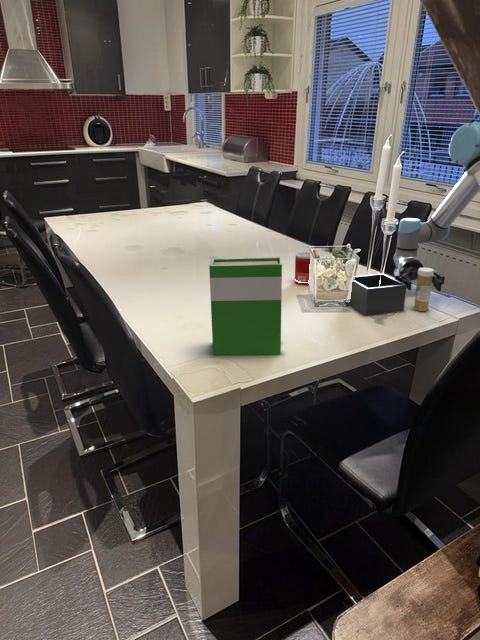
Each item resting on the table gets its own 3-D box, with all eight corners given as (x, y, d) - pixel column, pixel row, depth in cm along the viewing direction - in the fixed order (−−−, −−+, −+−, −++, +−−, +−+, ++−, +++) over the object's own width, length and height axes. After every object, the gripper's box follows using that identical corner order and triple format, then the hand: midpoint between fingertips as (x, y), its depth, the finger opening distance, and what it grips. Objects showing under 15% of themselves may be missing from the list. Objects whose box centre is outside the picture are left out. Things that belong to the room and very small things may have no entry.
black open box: (403, 311, 149) (406, 284, 146) (365, 315, 146) (367, 289, 143) (380, 298, 162) (383, 273, 158) (345, 302, 158) (346, 277, 155)
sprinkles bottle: (413, 306, 153) (418, 266, 148) (428, 307, 152) (433, 267, 147) (413, 311, 149) (418, 270, 144) (428, 312, 148) (434, 271, 143)
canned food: (318, 284, 177) (319, 256, 173) (298, 286, 176) (299, 257, 172) (311, 278, 184) (312, 251, 180) (292, 280, 183) (292, 253, 179)
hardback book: (278, 342, 129) (279, 257, 120) (280, 354, 122) (281, 264, 113) (214, 343, 129) (211, 258, 120) (213, 355, 122) (209, 266, 113)
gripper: (439, 278, 167) (458, 298, 147) (379, 277, 170) (389, 297, 149) (442, 257, 165) (462, 275, 144) (381, 257, 168) (391, 274, 147)
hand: (424, 286), depth 147 cm, fingers open, 8 cm apart
